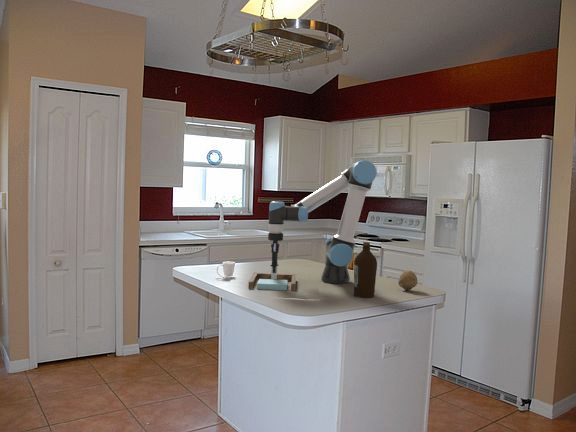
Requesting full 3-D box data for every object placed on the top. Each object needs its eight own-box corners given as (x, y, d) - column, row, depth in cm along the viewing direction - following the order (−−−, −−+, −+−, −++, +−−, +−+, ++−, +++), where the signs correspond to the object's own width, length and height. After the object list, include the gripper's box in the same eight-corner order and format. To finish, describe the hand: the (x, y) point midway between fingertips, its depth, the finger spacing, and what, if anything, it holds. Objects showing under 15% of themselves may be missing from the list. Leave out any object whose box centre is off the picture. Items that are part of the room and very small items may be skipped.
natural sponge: (421, 291, 254) (422, 271, 254) (407, 293, 250) (408, 272, 249) (408, 288, 262) (409, 268, 261) (395, 289, 258) (396, 269, 257)
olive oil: (373, 293, 245) (376, 241, 243) (377, 298, 234) (380, 244, 233) (351, 292, 245) (353, 240, 243) (353, 297, 234) (356, 243, 233)
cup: (236, 278, 270) (237, 263, 270) (218, 279, 266) (219, 263, 266) (232, 276, 277) (233, 261, 276) (214, 276, 272) (215, 261, 272)
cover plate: (287, 285, 253) (287, 280, 253) (286, 290, 242) (286, 284, 241) (259, 283, 254) (259, 278, 254) (256, 288, 242) (257, 283, 242)
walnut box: (295, 282, 266) (296, 274, 266) (295, 292, 241) (295, 283, 241) (253, 280, 267) (253, 272, 267) (248, 290, 242) (248, 281, 242)
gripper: (269, 230, 265) (267, 276, 266) (267, 233, 252) (265, 281, 253) (283, 231, 264) (281, 277, 266) (282, 233, 251) (280, 281, 253)
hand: (273, 279), depth 260 cm, fingers closed
